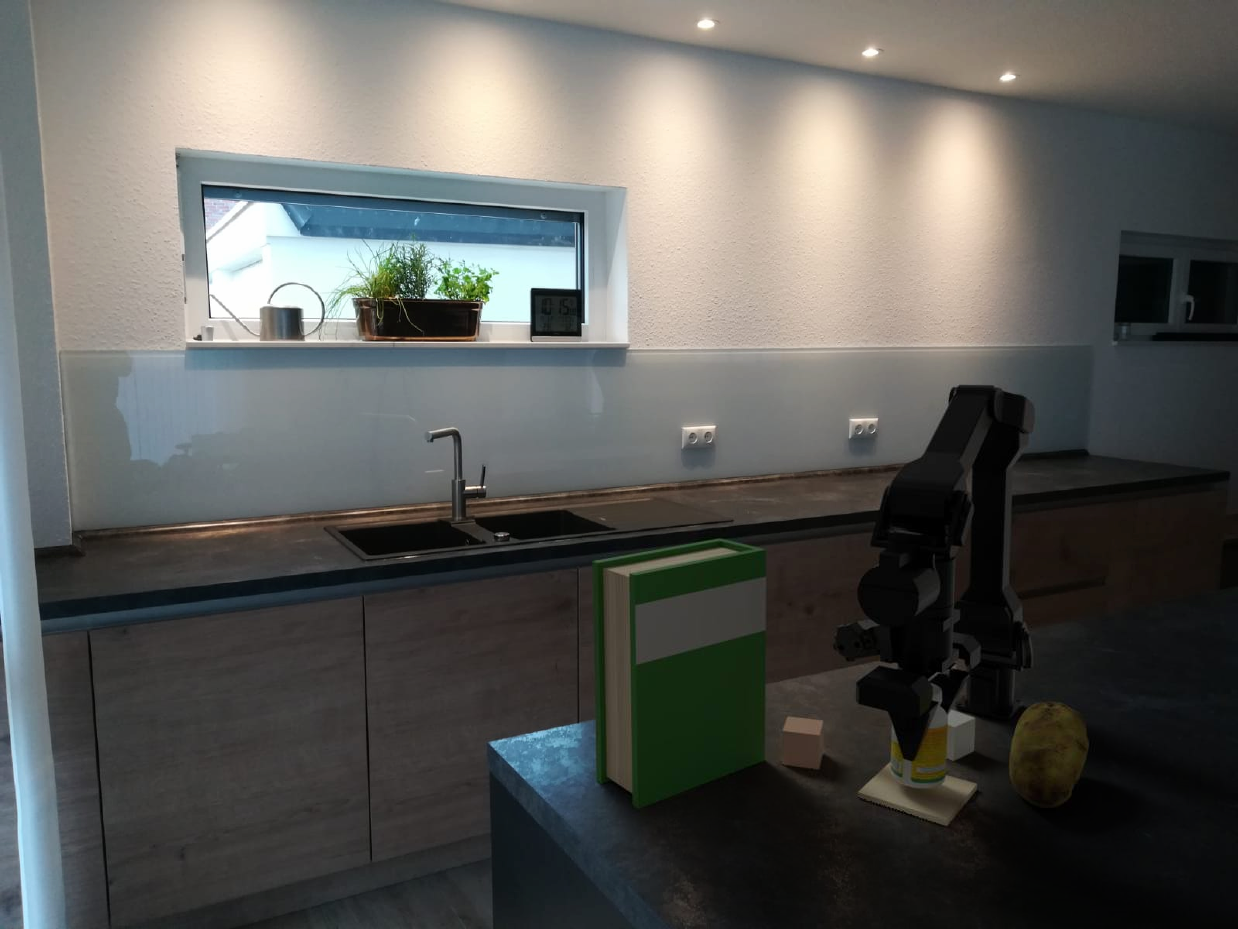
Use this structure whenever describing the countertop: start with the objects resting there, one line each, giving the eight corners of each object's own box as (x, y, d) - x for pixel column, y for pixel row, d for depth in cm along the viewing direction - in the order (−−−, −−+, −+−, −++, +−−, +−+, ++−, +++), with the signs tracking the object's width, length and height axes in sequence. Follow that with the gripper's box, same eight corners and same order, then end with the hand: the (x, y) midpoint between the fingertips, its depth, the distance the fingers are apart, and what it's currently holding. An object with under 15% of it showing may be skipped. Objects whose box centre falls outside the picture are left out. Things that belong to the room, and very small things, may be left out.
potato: (976, 794, 91) (979, 719, 90) (1031, 755, 99) (1034, 686, 98) (1060, 826, 85) (1064, 746, 84) (1111, 781, 93) (1115, 708, 92)
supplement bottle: (881, 778, 91) (883, 689, 90) (904, 760, 95) (907, 674, 94) (932, 796, 87) (935, 702, 86) (954, 776, 91) (957, 686, 90)
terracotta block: (787, 749, 102) (787, 716, 101) (823, 754, 101) (823, 720, 100) (782, 765, 98) (782, 730, 98) (818, 770, 97) (819, 735, 96)
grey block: (942, 739, 104) (943, 707, 103) (974, 751, 101) (975, 718, 100) (922, 749, 102) (923, 715, 101) (953, 761, 98) (954, 727, 98)
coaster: (892, 765, 98) (892, 760, 97) (976, 789, 92) (977, 784, 92) (857, 797, 91) (857, 792, 90) (946, 826, 85) (947, 820, 85)
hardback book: (638, 809, 89) (634, 575, 86) (596, 780, 95) (592, 561, 92) (764, 760, 99) (766, 549, 96) (720, 737, 105) (720, 538, 102)
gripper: (882, 570, 101) (880, 701, 103) (806, 609, 86) (804, 761, 89) (984, 585, 94) (979, 726, 96) (919, 630, 80) (915, 795, 82)
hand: (919, 749), depth 91 cm, fingers closed on supplement bottle, 5 cm apart
